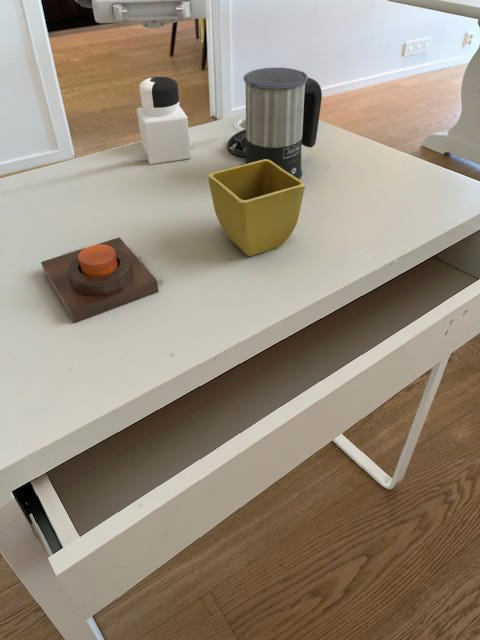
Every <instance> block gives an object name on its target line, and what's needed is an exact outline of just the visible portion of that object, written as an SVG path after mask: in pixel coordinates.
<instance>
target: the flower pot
mask: <svg viewBox="0 0 480 640" xmlns="http://www.w3.org/2000/svg"><path fill="white" fill-rule="evenodd" d="M207 179H208V184H209V189H210V195H211V200H212V204H213V208H214V212H215V216H216V219H217V220H218V223H219V224H220V226H221V228H222V229H223V231H224V233H225V234H226V235H227V237H228V239H229V240H230V241H231V242H232V243H233V244H234V245H235V246H236V247H237V248H239V249H240V250H241V251H242V252H243V253H244V254H245V255H246V256H248V257H252V256H256V255H258V254H261V253H264V252H267V251H271V250H274V249H278V248H279V247H282V246H283V245H284V244H285V243H286V242H287V241H288V239H289V238H290V237H291V235H292V234H293V232H294V230H295V229H296V226H297V223H298V221H299V217H300V214H301V213H300V212H301V207H302V203H303V198H304V193H305V188H306V183H305V182H304V181H302V180H301V179H297V178H296V177H294V176H293V175H291V174H289V173H287V172H286V171H285V170H283V169H282V168H280V167H279V166H278V165H276V164H275V163H273V162H272V161H270V160H268V159H264V160H260V161H256V162H252V163H248V164H246V163H245V164H241V165H236V166H232V167H229V168H226V169H221V170H216V171H214V172H211V173H207Z"/></svg>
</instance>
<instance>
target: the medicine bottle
mask: <svg viewBox="0 0 480 640" xmlns="http://www.w3.org/2000/svg"><path fill="white" fill-rule="evenodd" d="M178 85H179V84H178V82H177V81H176V80H175V79H173V78H170V77H168V76H153V77H149V78H145V79H144V80H143V81H141V82H140V83H139V86H138V87H139V95H140V102H141V103H140V104H141V106H139V107H137V108H136V115H137V122H138V129H139V135H140V143H141V145H142V147H143V149H144V151H145V153H146V154H145V157H146V159H147V162H148V163H149V164H150V165H156V164H163V163H169V162H170V163H171V162H176V161H183V160H189V159H191V157H192V155H191V142H190V132H189V118H188V116H187V114H186V113H185V111H184V110H183V108H182V107H181V106H180V96H179V94H180V93H179V86H178Z"/></svg>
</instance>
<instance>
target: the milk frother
mask: <svg viewBox="0 0 480 640" xmlns="http://www.w3.org/2000/svg"><path fill="white" fill-rule="evenodd" d="M242 80H243V82H244V83H245V129H242V130H240V131H238V132H237V133H235V134H233V135H232V136H231V137H230V138H229V139H228V142H227V145H226V147H227V151H228V152H229V154H231V155H232V156H234V157H235V158H238V159H245V164H248V163H252V162H256V161H260V160H264V159H268V160H270V161H272V162H273V163H275V164H276V165H278V166H279V167H280V168H282V169H283V170H285V171H286V172H287V173H289V174H291V175H293V176H294V177H296V178H297V179H299V180H301V178H302V176H303V170H302V146H304V147H306V148H313V147H314V146H315V145H316V142H317V136H318V130H319V122H320V114H321V107H322V100H323V92H322V87H321V85H320V83H319V82H318V81H317V80H315V79H313V78H311V77H309V76H308V74H307V73H305V72H304V71H301V70H298V69H295V68H291V67H290V68H289V67H262V68H257V69H254V70H251V71H249V72H247V73H245V74H244V75H243V77H242Z"/></svg>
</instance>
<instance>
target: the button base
mask: <svg viewBox="0 0 480 640" xmlns="http://www.w3.org/2000/svg"><path fill="white" fill-rule="evenodd" d="M99 244H102V245H108V246H111V247H112V248H113V249H114V250H115V253H116V258H117V263H118V267H117V269H116V270H115V271H113V272H112V273H109V274H106V275H103V276H95V277H89V276H86V275H84V274H83V273H82V270H81V267H80V263H79V259H78V255H79V253H80V252H81V251H82V250H83V249H85V248H86V247H84V248H80V249H78V250H74V251H72V252H68V253H65V254H61V255H58V256H55V257H52V258H49V259H46V260H43V261H41V262H40V265H41V268H42V271H43V274H44V275H45V277H46V279H47V280H48V282H49V284H50V285H51V287H52V289H53V290H54V292H55V294H56V295H57V298H58V299H59V300H60V302H61V303H62V306H63V307H64V309H65V310H66V312H67V314H68V316H69V317H70V319H71V320H72V322H73V324H77V323H80V322H82V321H85V320H87V319H90V318H93V317H96V316H98V315H101V314H104V313H106V312H109V311H112V310H113V309H114V310H115V309H117V308H120V307H122V306H125V305H128V304H130V303H134V302H136V301H138V300H141V299H143V298H146V297H150V296H152V295H155V294H157V293H159V292H160V291H159V284H158V279H156V278H155V276H154V275H153V274H152V273H151V272H150V270H149V269H148V268H147V267H146V266H145V265H144V264H143V263H142V261H141V260H140V259H139V258H138V256H137V255H136V254H134V252H133V251H132V250H131V249H130V248H129V246H128V245H127V244H126V243H125V242H124V240H122V238H121V237H116V238H112V239H109V240H106V241H102V242H99V243H96V244H95V245H99Z"/></svg>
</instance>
